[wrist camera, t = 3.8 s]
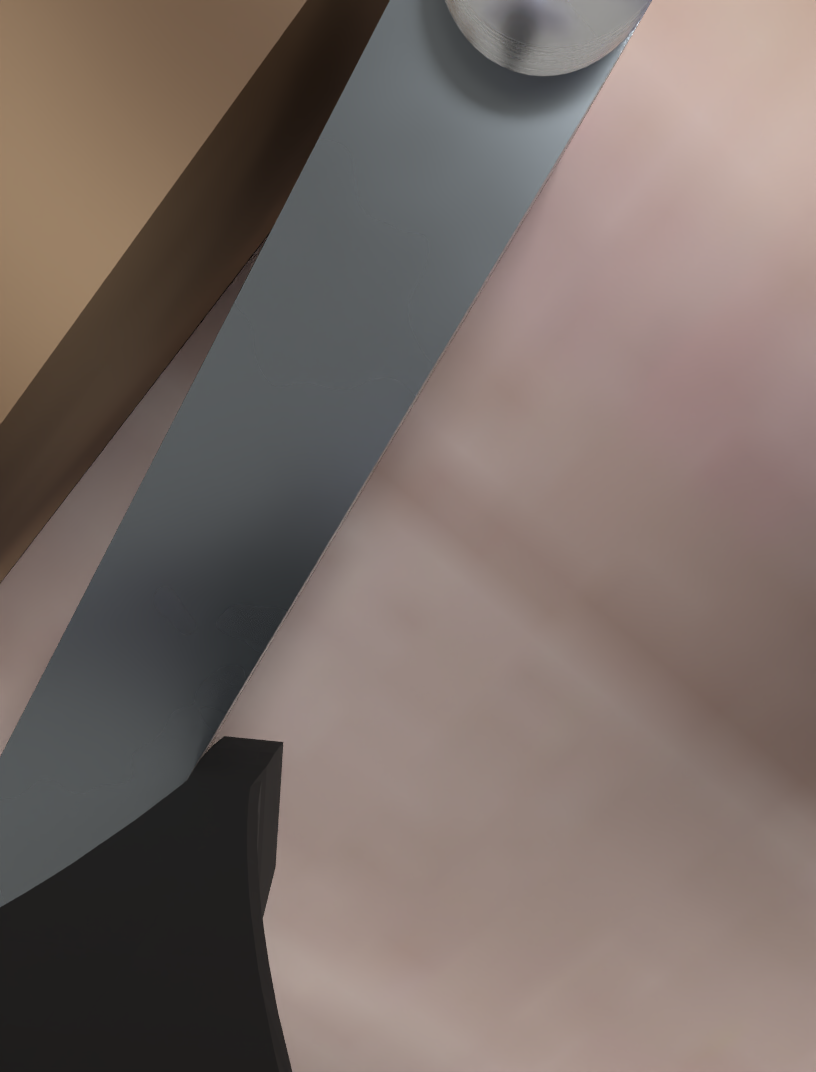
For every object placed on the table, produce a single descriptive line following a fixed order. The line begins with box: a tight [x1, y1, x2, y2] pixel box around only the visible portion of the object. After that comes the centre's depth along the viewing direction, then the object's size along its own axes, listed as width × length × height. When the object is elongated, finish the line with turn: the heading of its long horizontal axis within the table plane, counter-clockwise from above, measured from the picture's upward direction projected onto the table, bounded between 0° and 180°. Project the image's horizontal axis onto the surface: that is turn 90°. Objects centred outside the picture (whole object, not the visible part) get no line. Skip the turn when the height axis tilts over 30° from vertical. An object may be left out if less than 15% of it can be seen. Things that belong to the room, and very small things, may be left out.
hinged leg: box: [0, 0, 652, 907], centre depth 8 cm, size 15×2×4 cm, turn 149°
